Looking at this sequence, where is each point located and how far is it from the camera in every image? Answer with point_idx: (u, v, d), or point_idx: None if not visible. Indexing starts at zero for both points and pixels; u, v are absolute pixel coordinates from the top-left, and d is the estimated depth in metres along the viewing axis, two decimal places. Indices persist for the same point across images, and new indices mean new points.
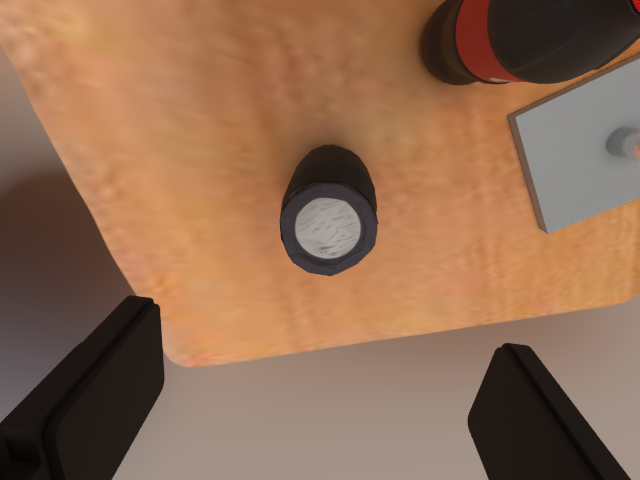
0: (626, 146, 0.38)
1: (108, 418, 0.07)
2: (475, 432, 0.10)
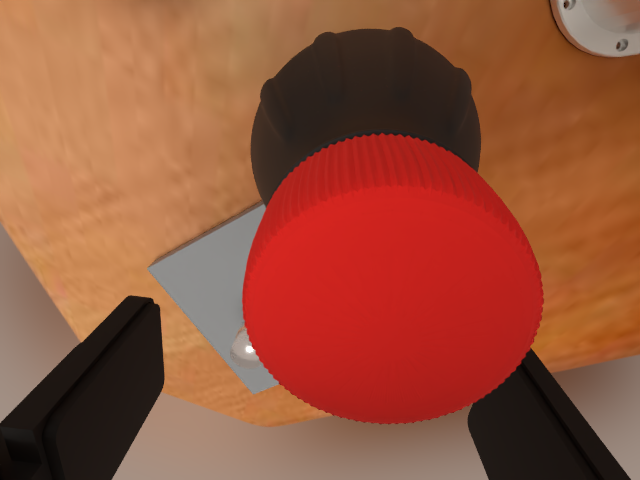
0: None
1: (108, 418, 0.07)
2: (475, 432, 0.10)
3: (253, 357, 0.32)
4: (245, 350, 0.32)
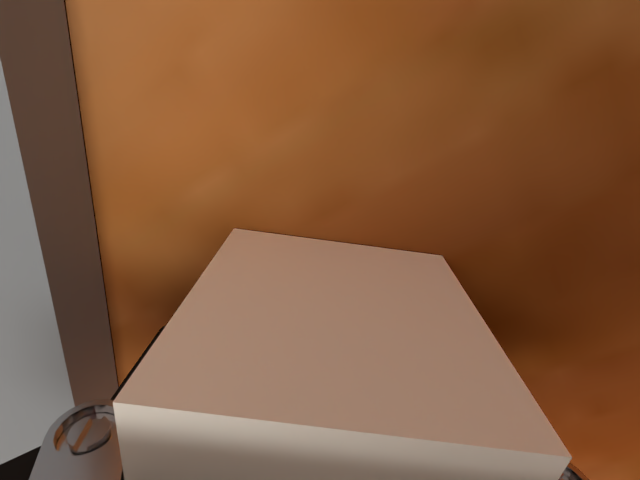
0: None
1: None
2: None
3: None
4: None
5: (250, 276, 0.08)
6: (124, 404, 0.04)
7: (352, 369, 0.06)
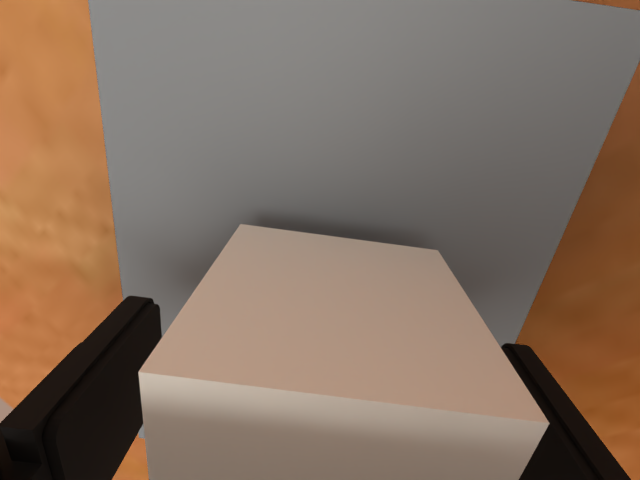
0: None
1: (108, 418, 0.07)
2: None
3: None
4: None
5: (257, 267, 0.08)
6: (148, 374, 0.05)
7: (352, 348, 0.06)
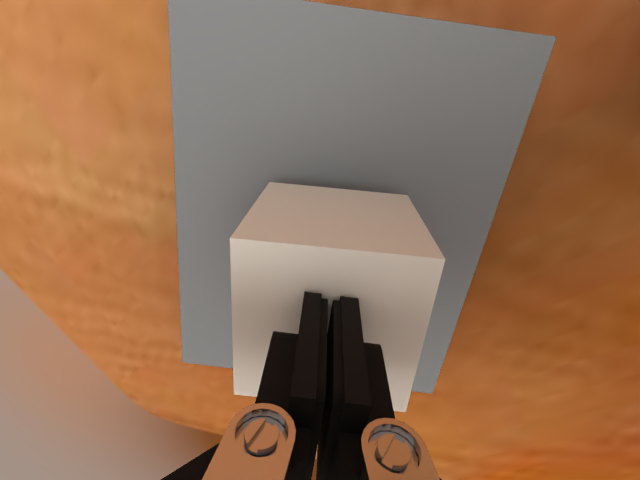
0: None
1: None
2: None
3: None
4: None
5: (284, 202, 0.13)
6: (235, 239, 0.10)
7: (342, 233, 0.11)
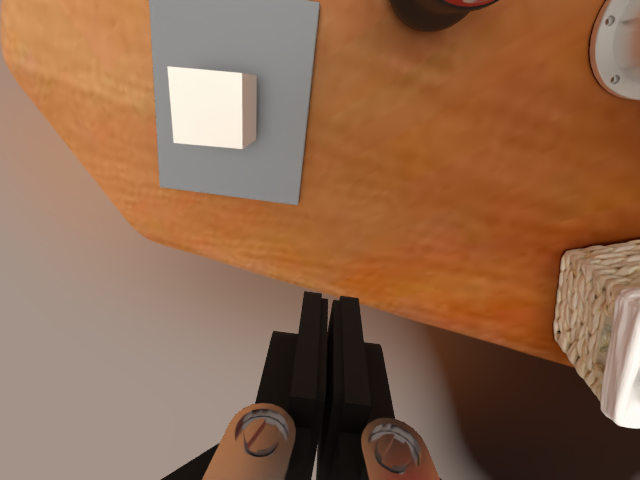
0: None
1: None
2: None
3: None
4: None
5: None
6: (169, 66, 0.28)
7: None
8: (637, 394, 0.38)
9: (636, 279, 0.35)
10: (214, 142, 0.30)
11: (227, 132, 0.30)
